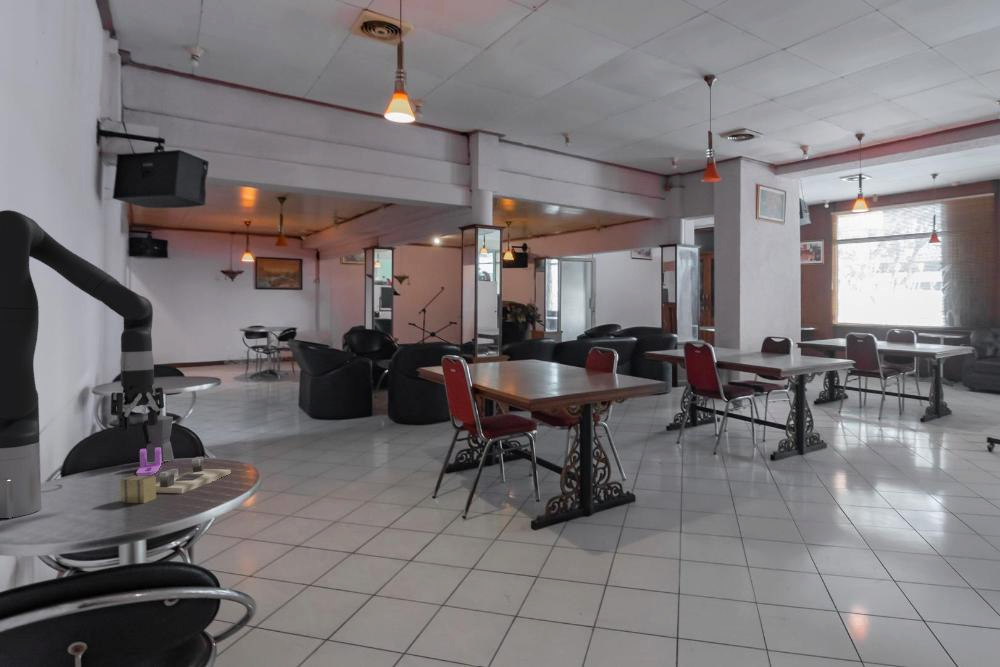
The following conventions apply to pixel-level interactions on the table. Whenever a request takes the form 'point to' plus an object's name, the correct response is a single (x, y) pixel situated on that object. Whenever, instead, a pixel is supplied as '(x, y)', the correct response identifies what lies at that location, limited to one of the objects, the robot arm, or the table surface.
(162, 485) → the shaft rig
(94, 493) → the table surface
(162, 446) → the coffeepot
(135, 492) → the tan rectangular block
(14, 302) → the robot arm
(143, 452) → the bracket
